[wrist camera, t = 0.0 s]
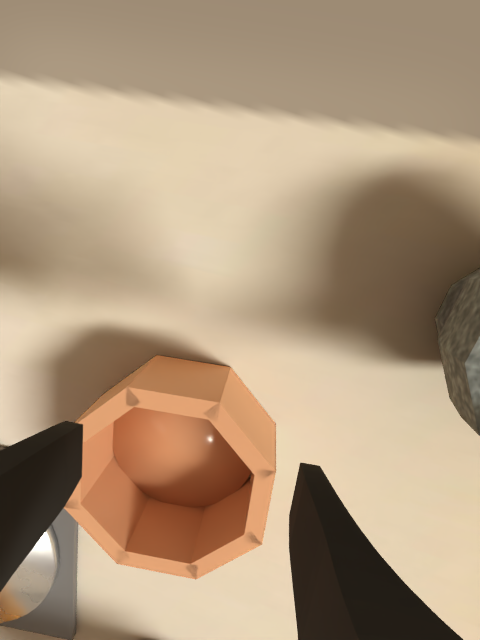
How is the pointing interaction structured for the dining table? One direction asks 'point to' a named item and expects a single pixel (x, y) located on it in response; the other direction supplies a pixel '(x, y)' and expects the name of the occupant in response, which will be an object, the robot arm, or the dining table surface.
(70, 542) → the rubber mat
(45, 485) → the robot arm
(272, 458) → the terracotta bowl
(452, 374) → the mortar and pestle
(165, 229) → the dining table surface
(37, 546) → the steel lid
